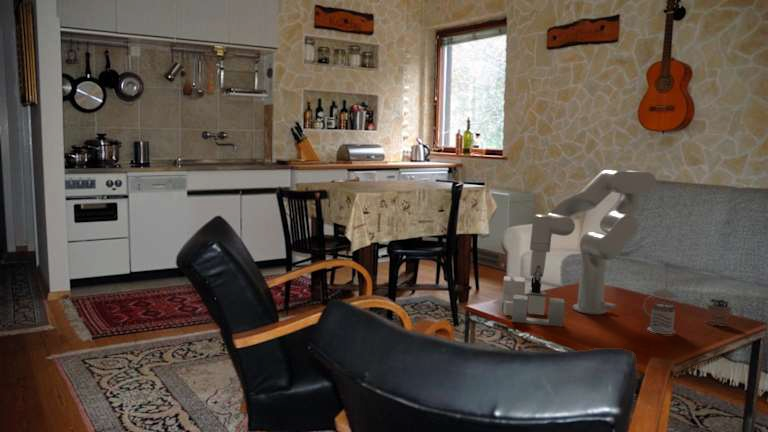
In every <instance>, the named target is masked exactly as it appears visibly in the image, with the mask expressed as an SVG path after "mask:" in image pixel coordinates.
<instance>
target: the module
mask: <svg viewBox="0 0 768 432" xmlns="http://www.w3.org/2000/svg"><path fill="white" fill-rule="evenodd" d="M531 291H532V289H531V290H530V289H529V292H528V303H527V314H529V315H541V316H545V312H546V311H545V310H546V308H545V307H546V291H543V290H540V294H538V293H532V292H531Z"/></svg>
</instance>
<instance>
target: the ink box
mask: <svg viewBox="0 0 768 432" xmlns="http://www.w3.org/2000/svg"><path fill="white" fill-rule="evenodd" d="M525 286H526V277H520V276H515V275H514V274H513V273H512V272H510V275H509V276H507V275H505V276H504V277H503V285H502V305H501V309H502V310H503V308H504V300H513V297H514V295H524V296H525V291H526V290H525Z"/></svg>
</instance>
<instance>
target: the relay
mask: <svg viewBox="0 0 768 432" xmlns="http://www.w3.org/2000/svg"><path fill="white" fill-rule="evenodd" d="M502 310H503V311H502V312H503V315H505V316H506V315H510V316H509V317H512V312H513V300H504V308H503V309H502Z"/></svg>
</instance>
